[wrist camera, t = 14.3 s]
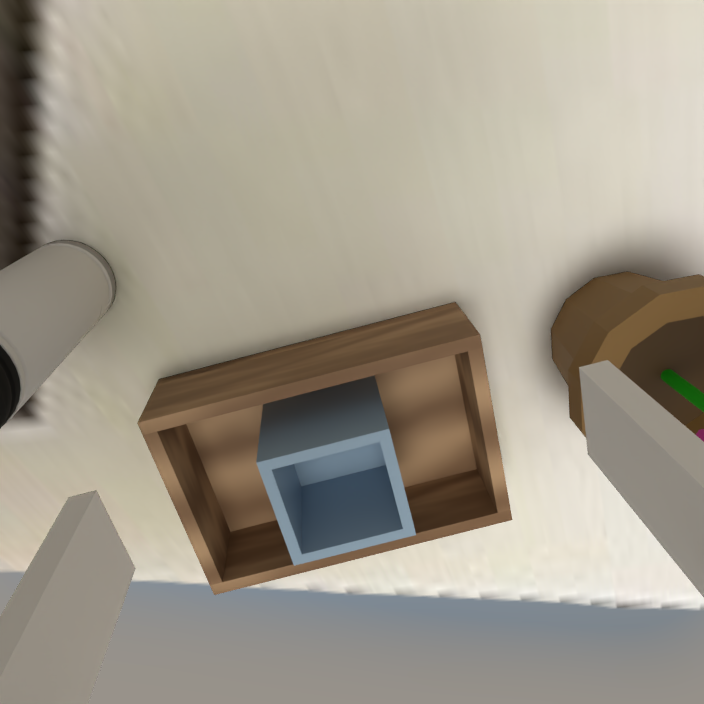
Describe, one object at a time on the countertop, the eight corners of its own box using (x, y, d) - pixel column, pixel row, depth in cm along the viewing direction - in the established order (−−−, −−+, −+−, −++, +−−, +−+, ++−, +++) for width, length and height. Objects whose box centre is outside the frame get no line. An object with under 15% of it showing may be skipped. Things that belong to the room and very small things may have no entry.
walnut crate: (158, 379, 48) (137, 423, 42) (455, 302, 47) (479, 334, 41) (224, 535, 54) (214, 594, 48) (486, 469, 54) (512, 519, 47)
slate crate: (263, 400, 48) (256, 462, 40) (373, 371, 48) (389, 428, 40) (294, 490, 52) (294, 565, 44) (397, 464, 52) (416, 534, 43)
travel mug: (126, 321, 46) (11, 472, 28) (35, 322, 45) (-144, 476, 27) (115, 239, 44) (-19, 343, 25) (19, 239, 43) (-190, 345, 25)
